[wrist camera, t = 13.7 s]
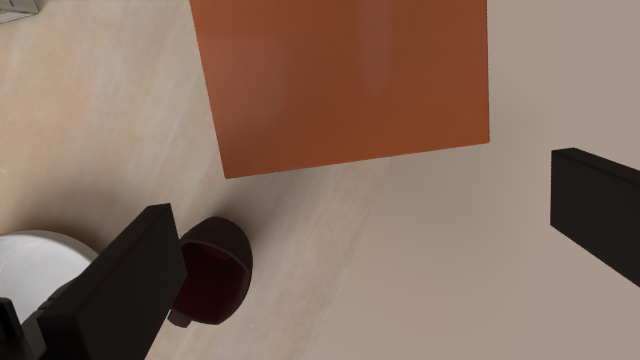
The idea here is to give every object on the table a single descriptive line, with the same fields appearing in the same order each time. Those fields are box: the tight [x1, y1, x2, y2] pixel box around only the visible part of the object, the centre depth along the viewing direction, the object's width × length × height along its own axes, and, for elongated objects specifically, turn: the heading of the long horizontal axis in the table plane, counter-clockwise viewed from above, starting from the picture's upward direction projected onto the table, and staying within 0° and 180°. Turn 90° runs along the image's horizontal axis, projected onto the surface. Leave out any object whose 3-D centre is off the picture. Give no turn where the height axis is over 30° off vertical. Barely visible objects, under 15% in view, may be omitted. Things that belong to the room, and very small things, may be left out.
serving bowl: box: [0, 230, 99, 324], centre depth 58 cm, size 21×21×7 cm
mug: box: [167, 217, 253, 328], centre depth 55 cm, size 10×14×12 cm
